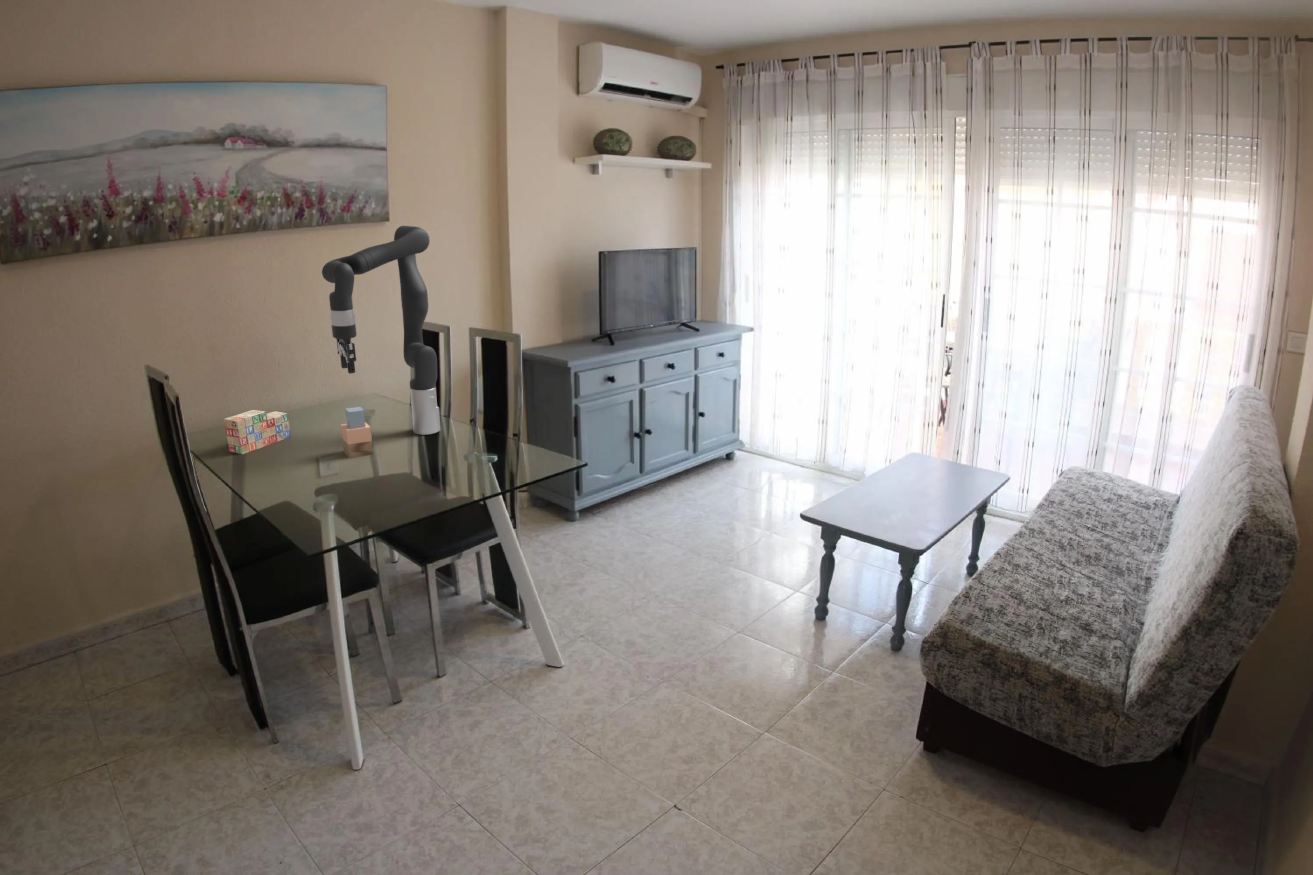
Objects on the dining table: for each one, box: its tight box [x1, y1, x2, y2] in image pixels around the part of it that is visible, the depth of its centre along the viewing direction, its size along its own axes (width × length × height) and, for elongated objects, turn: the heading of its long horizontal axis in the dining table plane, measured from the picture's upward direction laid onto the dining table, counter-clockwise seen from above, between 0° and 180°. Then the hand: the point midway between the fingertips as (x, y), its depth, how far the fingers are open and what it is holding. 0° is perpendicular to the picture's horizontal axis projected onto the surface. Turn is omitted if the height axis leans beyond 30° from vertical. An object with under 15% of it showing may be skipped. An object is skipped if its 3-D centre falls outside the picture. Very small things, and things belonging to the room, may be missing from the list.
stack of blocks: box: [223, 409, 292, 455], centre depth 285 cm, size 21×6×12 cm, turn 157°
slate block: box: [345, 406, 366, 429], centre depth 276 cm, size 5×5×6 cm
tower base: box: [341, 438, 374, 459], centre depth 280 cm, size 8×8×5 cm
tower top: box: [340, 421, 373, 445], centre depth 278 cm, size 8×8×5 cm
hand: (348, 370), depth 272 cm, fingers open, 8 cm apart
